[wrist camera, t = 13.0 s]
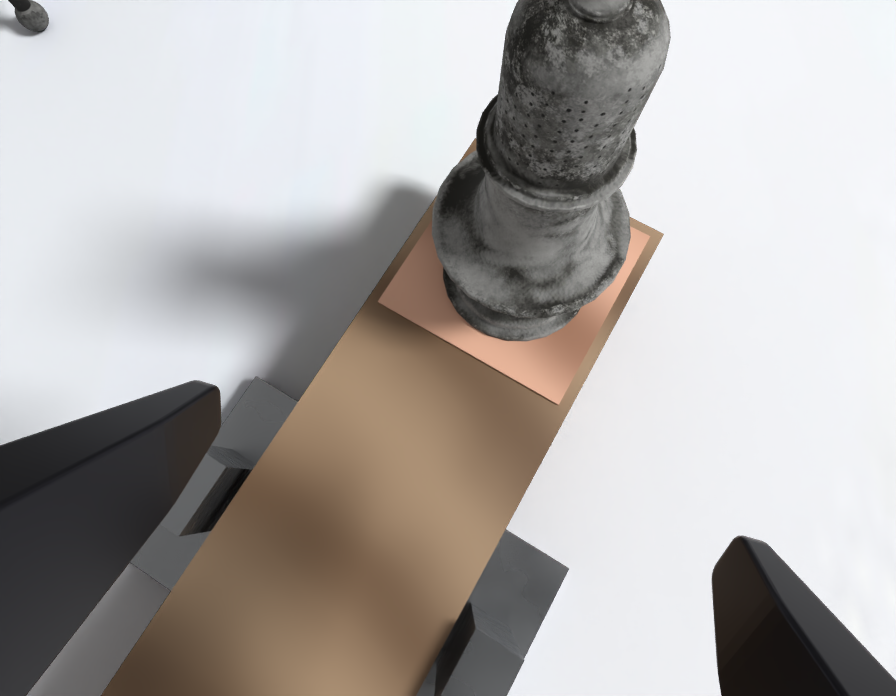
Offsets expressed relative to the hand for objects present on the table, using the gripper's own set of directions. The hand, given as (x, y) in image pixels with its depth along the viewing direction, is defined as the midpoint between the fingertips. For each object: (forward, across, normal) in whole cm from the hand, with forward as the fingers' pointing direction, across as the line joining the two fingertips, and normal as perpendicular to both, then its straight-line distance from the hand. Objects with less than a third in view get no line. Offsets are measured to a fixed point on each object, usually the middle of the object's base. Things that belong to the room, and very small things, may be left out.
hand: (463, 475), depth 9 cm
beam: (+4, +3, +9) cm, 10 cm away
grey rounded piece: (+12, 0, +1) cm, 12 cm away
